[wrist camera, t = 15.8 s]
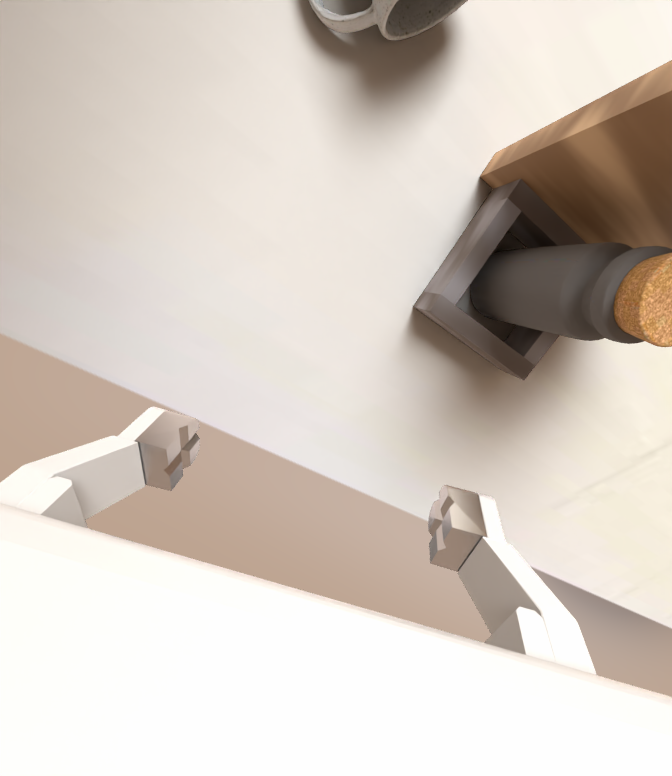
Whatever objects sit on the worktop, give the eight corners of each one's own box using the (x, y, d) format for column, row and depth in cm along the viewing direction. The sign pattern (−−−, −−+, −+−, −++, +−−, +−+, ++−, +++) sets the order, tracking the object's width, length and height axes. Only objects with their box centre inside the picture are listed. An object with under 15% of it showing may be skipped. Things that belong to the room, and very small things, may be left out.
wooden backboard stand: (495, 152, 27) (959, -92, 9) (602, 258, 32) (1069, 244, 13) (399, 296, 30) (603, 345, 11) (510, 376, 34) (792, 508, 15)
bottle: (460, 270, 30) (620, 273, 16) (520, 237, 30) (735, 210, 16) (481, 330, 32) (639, 378, 18) (537, 299, 32) (740, 323, 18)
